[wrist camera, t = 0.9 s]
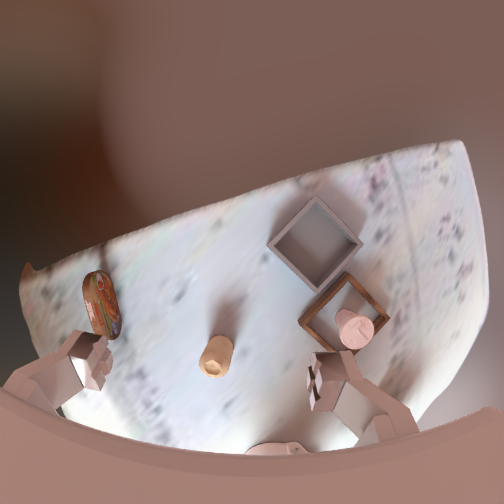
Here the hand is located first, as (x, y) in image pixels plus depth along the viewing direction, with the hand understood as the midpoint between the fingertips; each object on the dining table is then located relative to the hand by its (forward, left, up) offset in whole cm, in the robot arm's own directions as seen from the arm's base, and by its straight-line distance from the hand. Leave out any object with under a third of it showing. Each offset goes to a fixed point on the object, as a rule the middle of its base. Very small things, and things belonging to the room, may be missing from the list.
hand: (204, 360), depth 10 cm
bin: (-7, -10, -44) cm, 46 cm away
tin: (+16, +29, -45) cm, 55 cm away
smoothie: (-22, -4, -44) cm, 50 cm away
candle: (-8, +18, -44) cm, 48 cm away
